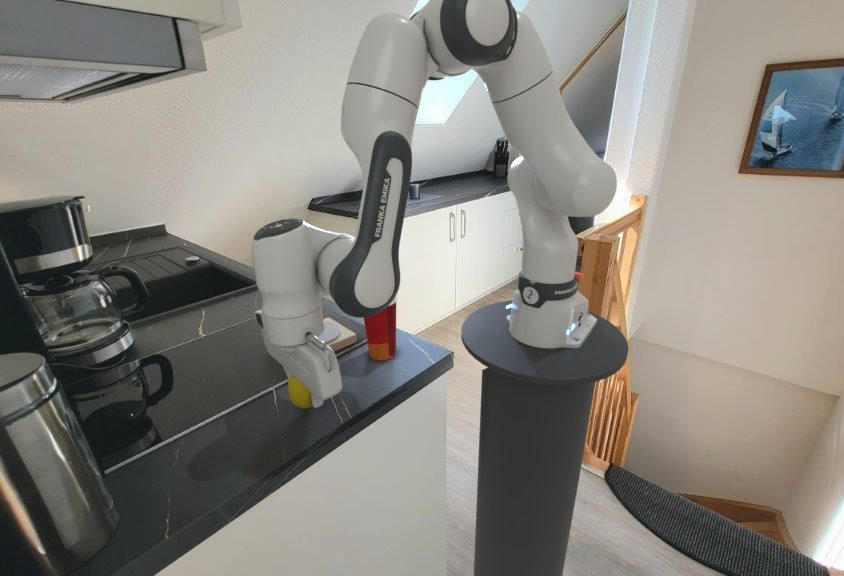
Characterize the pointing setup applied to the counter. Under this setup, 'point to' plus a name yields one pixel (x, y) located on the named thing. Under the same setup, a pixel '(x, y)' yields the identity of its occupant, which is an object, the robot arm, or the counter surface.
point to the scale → (336, 335)
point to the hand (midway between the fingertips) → (306, 394)
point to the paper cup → (382, 332)
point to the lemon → (299, 393)
